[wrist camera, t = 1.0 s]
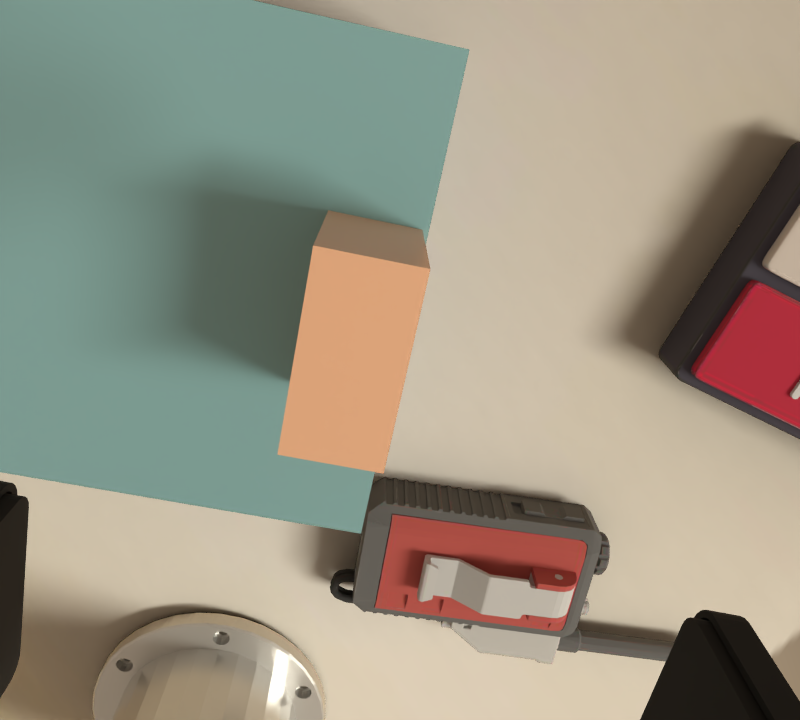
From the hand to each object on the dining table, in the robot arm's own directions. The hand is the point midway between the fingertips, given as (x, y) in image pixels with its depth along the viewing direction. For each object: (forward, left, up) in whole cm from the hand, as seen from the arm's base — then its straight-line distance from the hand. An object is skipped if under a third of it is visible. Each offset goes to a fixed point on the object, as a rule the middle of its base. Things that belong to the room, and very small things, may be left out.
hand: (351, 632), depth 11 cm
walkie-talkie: (-15, -11, -25) cm, 31 cm away
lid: (0, +9, -16) cm, 19 cm away
